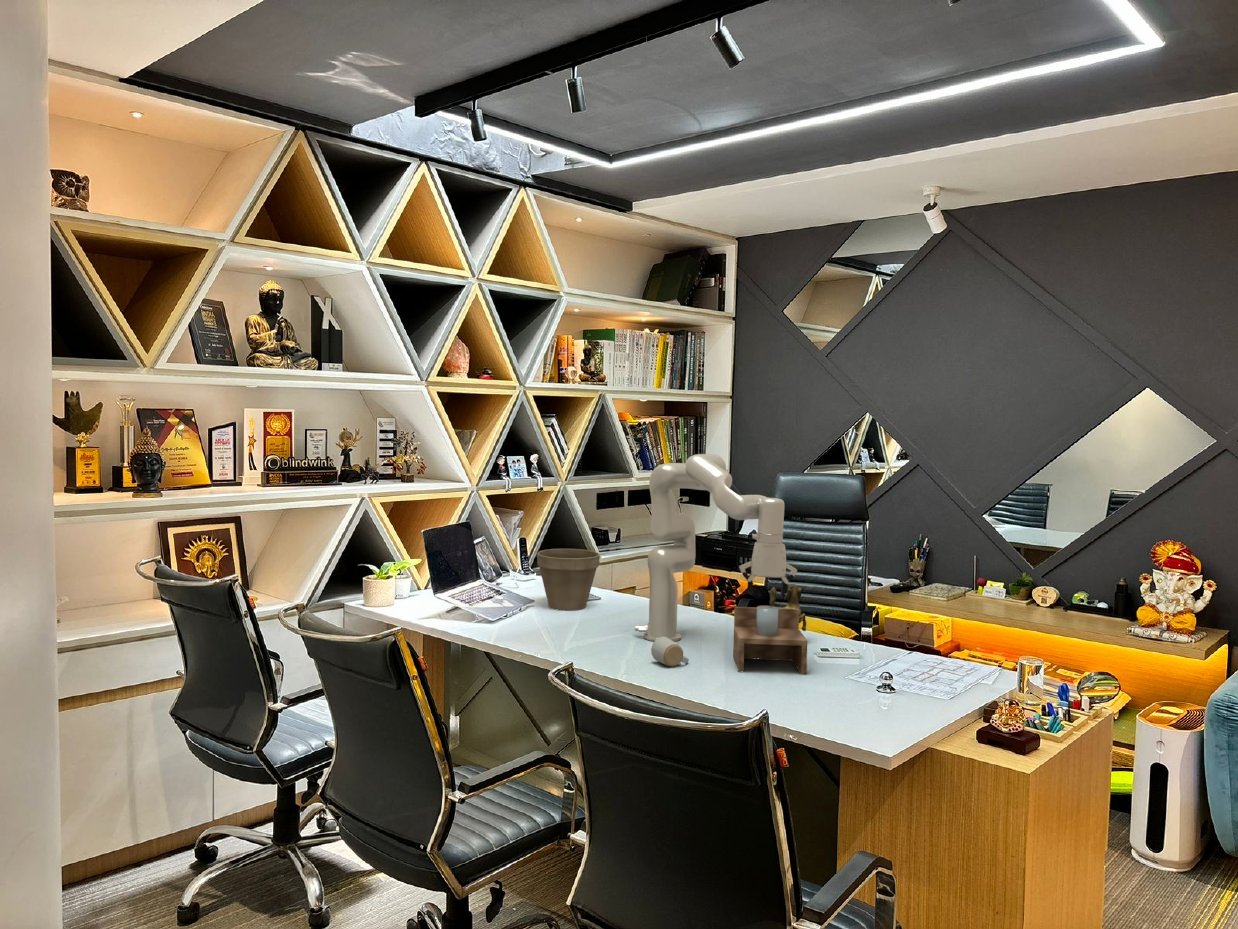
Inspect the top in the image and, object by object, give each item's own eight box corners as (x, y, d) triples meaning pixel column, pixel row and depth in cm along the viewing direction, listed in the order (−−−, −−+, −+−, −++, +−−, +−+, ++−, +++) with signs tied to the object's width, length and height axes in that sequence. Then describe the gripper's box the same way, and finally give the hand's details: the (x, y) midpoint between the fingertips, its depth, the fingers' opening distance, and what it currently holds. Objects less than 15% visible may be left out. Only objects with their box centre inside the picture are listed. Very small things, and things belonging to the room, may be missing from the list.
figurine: (816, 642, 309) (819, 583, 308) (773, 653, 292) (775, 591, 291) (785, 635, 318) (787, 578, 318) (741, 646, 301) (743, 585, 300)
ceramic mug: (663, 668, 269) (664, 643, 269) (650, 662, 277) (651, 637, 276) (693, 666, 274) (695, 641, 274) (679, 659, 281) (681, 635, 281)
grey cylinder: (754, 631, 278) (755, 605, 277) (775, 632, 278) (776, 606, 277) (757, 636, 271) (758, 609, 271) (778, 636, 271) (779, 610, 271)
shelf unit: (738, 671, 268) (740, 618, 268) (733, 657, 286) (734, 606, 285) (806, 674, 267) (808, 620, 267) (796, 659, 285) (798, 608, 284)
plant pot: (587, 616, 343) (588, 558, 342) (526, 610, 350) (527, 554, 349) (606, 604, 367) (607, 550, 366) (549, 599, 374) (550, 547, 373)
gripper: (742, 539, 270) (739, 596, 271) (800, 542, 269) (797, 599, 270) (739, 535, 278) (736, 591, 279) (796, 538, 277) (793, 594, 278)
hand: (766, 595), depth 274 cm, fingers open, 9 cm apart
